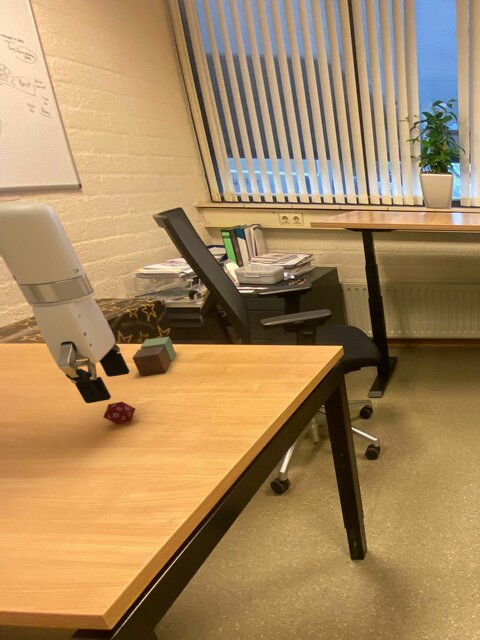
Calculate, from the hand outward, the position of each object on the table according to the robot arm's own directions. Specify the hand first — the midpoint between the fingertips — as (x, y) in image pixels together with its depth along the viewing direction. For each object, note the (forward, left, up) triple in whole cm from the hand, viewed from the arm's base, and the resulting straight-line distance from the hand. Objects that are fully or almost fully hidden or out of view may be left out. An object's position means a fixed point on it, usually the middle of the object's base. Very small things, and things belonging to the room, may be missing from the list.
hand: (109, 387), depth 71 cm
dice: (0, 0, -8) cm, 8 cm away
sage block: (0, +28, -7) cm, 29 cm away
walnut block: (0, +22, -7) cm, 23 cm away
